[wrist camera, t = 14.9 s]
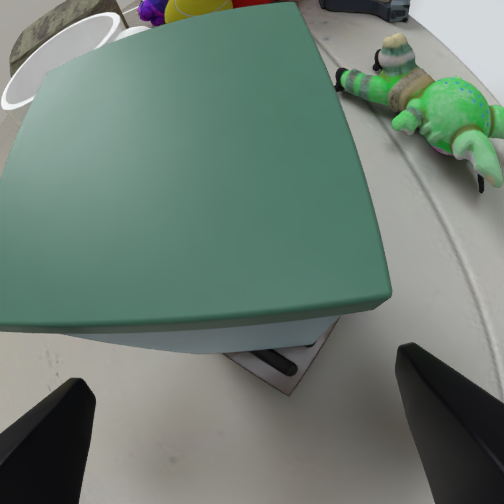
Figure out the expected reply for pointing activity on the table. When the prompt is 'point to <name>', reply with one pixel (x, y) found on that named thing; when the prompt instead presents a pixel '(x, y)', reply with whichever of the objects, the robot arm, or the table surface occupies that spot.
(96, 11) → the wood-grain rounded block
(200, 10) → the tennis ball
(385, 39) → the toy
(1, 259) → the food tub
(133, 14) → the table surface
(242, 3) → the tomato
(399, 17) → the handgun
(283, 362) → the dish rack
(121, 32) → the mug
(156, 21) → the toy
